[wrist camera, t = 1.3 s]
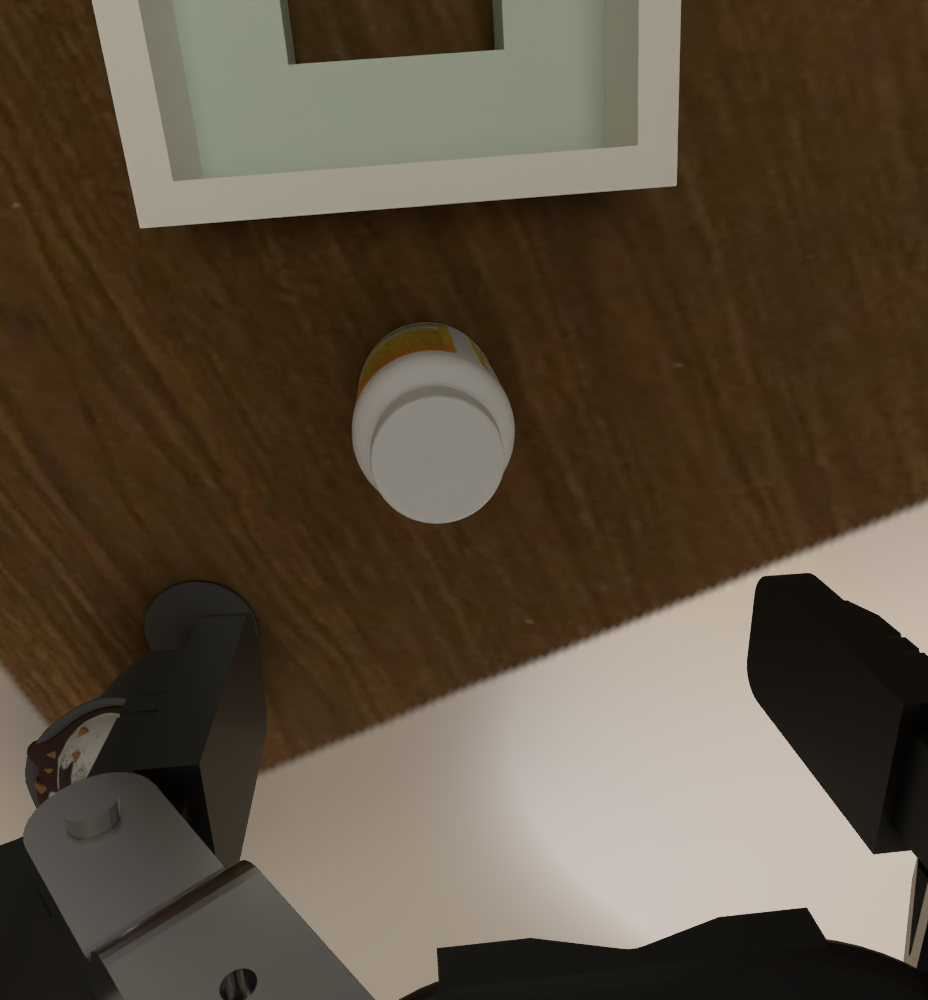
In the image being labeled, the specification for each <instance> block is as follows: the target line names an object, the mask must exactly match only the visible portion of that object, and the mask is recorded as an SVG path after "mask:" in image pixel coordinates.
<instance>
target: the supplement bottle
mask: <svg viewBox="0 0 928 1000" xmlns="http://www.w3.org/2000/svg"><path fill="white" fill-rule="evenodd" d="M514 437H515V425H514V417H513V413H512V409H511V406H510V402H509V400H508V398H507V395H506V393H505V391H504V389H503V388H502V386H501V384H500V383H499V381H498V379H497V377H496V375H495V373H494V371H493V369H492V367H491V365H490V364H489V362H488V360H487V358H486V357H485V355H484V353H483V352H482V351H481V349H480V348H479V347H478V346H477V345H476V344H475V342H474V341H472V340H471V339H470V338H469V337H468V336H467V335H465V334H464V333H462V332H461V331H459V330H457V329H455V328H453V327H450V326H447V325H443V324H439V323H431V322H422V323H414V324H409V325H406V326H403V327H400V328H398V329H396V330H394V331H392V332H391V333H389V334H388V335H386V336H385V337H384V338H383V339H381V340H380V341H379V342H378V343H377V344H376V346H375V347H374V348H373V350H372V351H371V352H370V354H369V356H368V357H367V359H366V361H365V364H364V366H363V369H362V371H361V375H360V380H359V385H358V392H357V397H356V403H355V408H354V413H353V419H352V442H353V448H354V452H355V455H356V459H357V461H358V464H359V466H360V468H361V470H362V471H363V473H364V475H365V476H366V478H367V479H368V481H369V482H370V483H371V484H372V485H373V486H374V487H375V488H376V489H377V490H378V491H379V492H380V494H381V495H382V497H383V498H384V499H385V500H386V502H387V503H388V504H389V505H390V506H391V507H393V508H394V509H395V510H396V511H398V512H399V513H401V514H403V515H404V516H406V517H408V518H411V519H413V520H417V521H420V522H424V523H436V524H440V523H449V522H453V521H457V520H460V519H463V518H465V517H468V516H470V515H471V514H473V513H475V512H476V511H478V510H479V509H480V508H482V507H483V506H484V505H485V504H486V503H487V502H488V501H489V499H490V498H491V497H492V496H493V494H494V493H495V491H496V489H497V488H498V486H499V484H500V481H501V479H502V475H503V473H504V471H505V469H506V467H507V465H508V462H509V460H510V457H511V454H512V450H513V445H514Z"/></svg>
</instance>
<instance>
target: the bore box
mask: <svg viewBox="0 0 928 1000" xmlns="http://www.w3.org/2000/svg"><path fill="white" fill-rule="evenodd" d="M92 3H93V8H94V13H95V18H96V22H97V27H98V32H99V37H100V41H101V46H102V51H103V56H104V60H105V65H106V70H107V74H108V79H109V84H110V89H111V93H112V98H113V103H114V108H115V112H116V117H117V122H118V126H119V131H120V136H121V141H122V145H123V150H124V155H125V160H126V164H127V169H128V174H129V179H130V183H131V188H132V193H133V197H134V202H135V207H136V212H137V216H138V221H139V226H140V228H152V227H164V226H177V225H190V224H202V223H215V222H228V221H240V220H253V219H265V218H278V217H291V216H303V215H316V214H328V213H341V212H354V211H366V210H379V209H391V208H404V207H417V206H429V205H442V204H454V203H467V202H480V201H492V200H505V199H518V198H530V197H543V196H555V195H568V194H581V193H593V192H606V191H618V190H631V189H644V188H656V187H669V186H677V150H678V108H679V66H680V24H681V0H492V4H493V24H494V43H495V50H490V51H476V52H462V53H447V54H433V55H419V56H405V57H391V58H376V59H362V60H348V61H334V62H320V63H306V64H296V60H295V53H294V45H293V38H292V30H291V23H290V15H289V8H288V0H92Z"/></svg>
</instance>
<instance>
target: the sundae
mask: <svg viewBox="0 0 928 1000" xmlns="http://www.w3.org/2000/svg"><path fill="white" fill-rule="evenodd" d="M237 613H251V615H252V617H253V620H254V624H255V630H256V637H257V640H258V626H257V622H256V619H255V616H254V613H253V611H252V610H251V609H250V607H249V606H248V605H247V603H246V602H245V601H244V600H243V599H242V598H241V597H240V596H239V595H237V594H236V593H234V592H233V591H231V590H229V589H227V588H225V587H223V586H221V585H218V584H214V583H209V582H202V581H193V582H185V583H181V584H176V585H174V586H172V587H170V588H168V589H166V590H165V591H163V592H162V593H160V594H159V595H158V596H157V597H156V598H155V599H154V601H153V602H152V603H151V605H150V607H149V608H148V610H147V612H146V617H145V623H144V632H145V636H146V640H147V643H148V645H149V647H150V650H151V651H152V652H151V653H149V654H146V655H145V656H143V657H142V658H140V659H139V660H138V661H136V662H135V663H134V664H132V665H131V666H130V667H129V668H128V669H127V670H126V671H124V672H123V673H122V674H121V675H120V676H119V677H118V678H117V679H116V680H115V681H114V682H113V683H112V684H111V686H110V687H109V688H108V689H107V690H106V691H105V693H104V694H103V695H102V696H101V697H100V698H96V699H94V700H91V701H89V702H87V703H84V704H82V705H79V706H78V707H76V708H75V709H73V710H72V711H70V712H68V713H67V714H65V715H64V716H62V717H61V718H60V719H59V720H57V721H56V722H55V723H54V724H52V725H51V726H50V727H49V728H47V729H46V730H45V731H44V733H43V734H42V736H41V737H40V738H39V739H38V740H37V741H34V742H33V743H32V744H30V746H29V747H28V750H27V755H28V757H27V762H26V769H25V776H26V784H27V787H28V789H29V792H30V795H31V797H32V799H33V801H34V804H35V806H36V808H38V807H39V806H40V805H41V804H42V803H43V802H44V801H46V800H47V799H48V798H49V797H51V796H52V795H54V794H55V793H57V792H58V791H60V790H61V789H63V788H65V787H67V786H69V785H71V784H73V783H75V782H78V781H80V780H82V779H86V778H87V776H88V774H89V772H90V770H91V768H92V766H93V764H94V762H95V760H96V758H97V756H98V754H99V752H100V750H101V748H102V746H103V744H104V742H105V740H106V739H107V737H108V735H109V733H110V731H111V729H112V727H113V725H114V723H115V721H116V719H117V718H118V717H120V711H121V709H122V707H123V705H124V703H125V701H126V699H127V698H129V693H130V691H131V689H132V687H133V685H134V683H135V681H136V679H137V677H138V675H139V673H140V671H142V670H143V669H144V668H145V667H146V666H148V665H149V664H150V663H151V662H152V661H153V660H155V659H156V658H157V657H158V656H159V655H161V654H162V653H163V652H164V651H172V650H185V649H186V647H187V644H188V642H189V640H190V637H191V635H192V633H193V630H194V628H195V626H196V623H197V621H198V619H199V618H200V616H209V615H223V614H237Z"/></svg>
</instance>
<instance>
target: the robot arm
mask: <svg viewBox="0 0 928 1000" xmlns="http://www.w3.org/2000/svg"><path fill="white" fill-rule="evenodd" d="M747 672H748V679H749V683H750V687H751V690H752V692H753V695H754V697H755V698H756V700H757V702H758V703H759V704H760V706H761V707H762V708H763V710H764V711H765V712H766V714H767V715H768V716H769V717H770V719H771V720H772V721H773V723H774V724H775V725H776V727H777V728H778V729H779V731H780V732H781V733H782V735H783V736H784V737H785V739H786V740H787V741H788V742H789V744H790V745H791V746H792V748H793V749H794V750H795V752H796V753H797V754H798V756H799V757H800V758H801V760H802V761H803V762H804V763H805V765H806V766H807V767H808V769H809V770H810V771H811V773H812V774H813V775H814V777H815V778H816V779H817V781H818V782H819V783H820V785H821V786H822V787H823V789H824V790H825V791H826V792H827V794H828V795H829V796H830V798H831V799H832V800H833V802H834V803H835V804H836V806H837V807H838V808H839V810H840V811H841V812H842V814H843V815H844V816H845V817H846V819H847V820H848V821H849V823H850V824H851V825H852V827H853V828H854V829H855V830H856V832H857V833H858V835H859V836H860V837H861V839H862V840H863V841H864V842H865V844H866V845H867V846H868V848H869V849H870V850H871V852H872V853H873V854H880V853H889V852H899V851H908V850H912V852H913V853H914V854H915V855H916V856H917V861H916V865H915V870H914V874H913V879H912V887H911V896H910V906H909V916H908V925H907V935H906V945H905V955H904V962H902V961H900V960H898V959H895V958H893V957H890V956H888V955H885V954H883V953H880V952H876V951H874V950H870V949H867V948H864V947H861V946H857V945H853V944H848V943H843V942H839V941H834V940H826V939H825V937H824V935H823V934H822V932H821V930H820V929H819V927H818V925H817V924H816V922H815V920H814V919H813V917H812V915H811V914H810V912H809V911H808V909H807V908H799V909H790V910H781V911H772V912H763V913H754V914H745V915H735V916H727V917H718V918H716V919H713V920H710V921H708V922H705V923H703V924H700V925H698V926H695V927H692V928H690V929H687V930H685V931H682V932H679V933H677V934H674V935H672V936H669V937H667V938H664V939H661V940H659V941H656V942H654V943H651V944H648V945H646V946H643V947H640V948H636V949H618V948H609V947H600V946H592V945H584V944H576V943H568V942H559V941H551V940H543V939H534V938H527V939H518V940H508V941H499V942H491V943H482V944H473V945H464V946H454V947H445V948H437V959H438V976H439V981H438V982H435V983H432V984H430V985H427V986H425V987H422V988H420V989H418V990H416V991H415V992H413V993H411V994H409V995H407V996H405V997H403V998H401V999H399V1000H928V656H927V655H926V654H925V653H920V652H919V648H917V647H916V646H915V645H914V644H913V643H911V642H910V641H909V640H908V639H907V638H905V637H902V638H901V634H900V633H899V632H898V631H897V630H896V629H894V628H893V627H892V626H891V625H890V624H888V623H887V622H886V621H885V620H884V619H882V618H881V617H880V616H879V615H877V614H875V613H872V612H870V611H868V610H866V609H864V608H862V607H859V606H858V605H855V604H853V603H851V602H849V601H844V600H843V599H841V598H840V597H839V596H838V595H837V594H836V593H835V592H833V591H832V590H831V589H830V588H829V587H828V586H826V585H825V584H824V583H823V582H822V581H821V580H819V579H818V578H817V577H816V576H814V575H813V574H810V573H803V574H789V575H776V576H764V577H762V578H761V579H760V580H759V582H758V584H757V586H756V590H755V597H754V605H753V614H752V623H751V632H750V640H749V649H748V658H747ZM265 734H266V704H265V695H264V688H263V681H262V673H261V666H260V659H259V652H258V645H257V637H256V630H255V624H254V620H253V617H252V615H251V613H237V614H223V615H209V616H200V618H199V619H198V621H197V623H196V626H195V628H194V630H193V633H192V635H191V637H190V640H189V642H188V644H187V647H186V649H185V650H172V651H164V652H163V653H162V654H161V655H159V656H158V657H157V658H156V659H155V660H153V661H152V662H151V663H150V664H149V665H148V666H146V667H145V668H144V669H143V670H142V671H140V673H139V675H138V677H137V679H136V681H135V683H134V685H133V687H132V689H131V691H130V693H129V698H127V699H126V701H125V703H124V705H123V707H122V709H121V711H120V717H118V718H117V719H116V721H115V723H114V725H113V727H112V729H111V731H110V733H109V735H108V737H107V739H106V740H105V742H104V744H103V746H102V748H101V750H100V752H99V754H98V756H97V758H96V760H95V762H94V764H93V766H92V768H91V770H90V772H89V774H88V776H87V778H86V779H82V780H80V781H78V782H75V783H73V784H71V785H69V786H67V787H65V788H63V789H61V790H60V791H58V792H57V793H55V794H54V795H52V796H51V797H49V798H48V799H47V800H46V801H44V802H43V803H42V804H41V805H40V806H39V807H38V808H37V809H36V810H35V812H34V813H33V814H32V816H31V817H30V818H29V820H28V822H27V824H26V826H25V829H24V833H23V837H21V838H19V839H16V840H14V841H11V842H8V843H6V844H3V845H0V1000H375V999H374V998H373V997H372V996H371V995H370V994H369V992H368V991H367V990H366V989H365V988H364V987H363V986H362V985H361V983H359V981H358V980H357V979H356V978H355V977H354V976H353V975H352V973H351V972H350V971H349V970H348V969H347V968H346V967H345V965H344V964H343V963H342V962H341V961H340V960H339V959H338V958H337V957H336V955H335V954H334V953H333V952H332V951H331V950H330V949H329V948H328V947H327V946H326V944H325V943H324V942H323V941H322V940H321V939H320V937H319V936H318V935H317V934H316V933H315V932H314V931H313V930H312V929H311V927H310V926H309V925H308V924H307V923H306V922H305V921H304V920H303V918H302V917H301V916H300V915H299V914H298V913H297V912H296V911H295V909H294V908H293V907H292V906H291V905H290V904H289V903H288V902H287V901H286V899H285V898H284V897H283V896H282V895H281V894H280V893H279V892H278V891H277V889H276V888H275V887H274V886H273V885H272V884H271V883H270V882H269V881H268V879H267V878H266V877H265V876H264V875H263V874H262V873H261V871H260V870H259V869H257V867H256V866H254V865H253V864H252V863H251V862H249V861H246V860H242V861H240V856H241V851H242V846H243V842H244V837H245V832H246V827H247V823H248V818H249V813H250V808H251V804H252V799H253V794H254V789H255V785H256V780H257V775H258V770H259V766H260V761H261V756H262V751H263V747H264V742H265ZM239 861H240V862H239Z"/></svg>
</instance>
